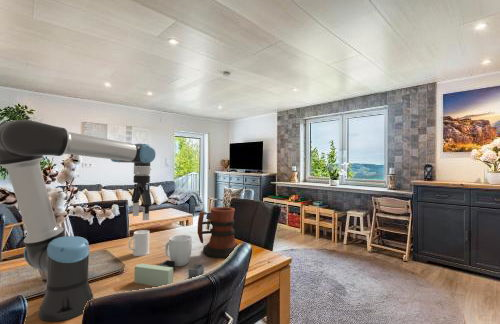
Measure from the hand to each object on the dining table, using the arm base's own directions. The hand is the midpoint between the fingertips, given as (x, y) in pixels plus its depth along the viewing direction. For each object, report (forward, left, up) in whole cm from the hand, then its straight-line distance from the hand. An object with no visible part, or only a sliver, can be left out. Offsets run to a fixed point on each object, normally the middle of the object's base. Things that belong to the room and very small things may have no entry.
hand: (140, 218), depth 128 cm
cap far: (-3, -17, -23) cm, 29 cm away
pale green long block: (-15, -19, -23) cm, 34 cm away
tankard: (+30, -30, -23) cm, 48 cm away
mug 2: (+7, -17, -23) cm, 30 cm away
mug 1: (+12, +10, -23) cm, 28 cm away
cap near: (-3, -32, -23) cm, 40 cm away
